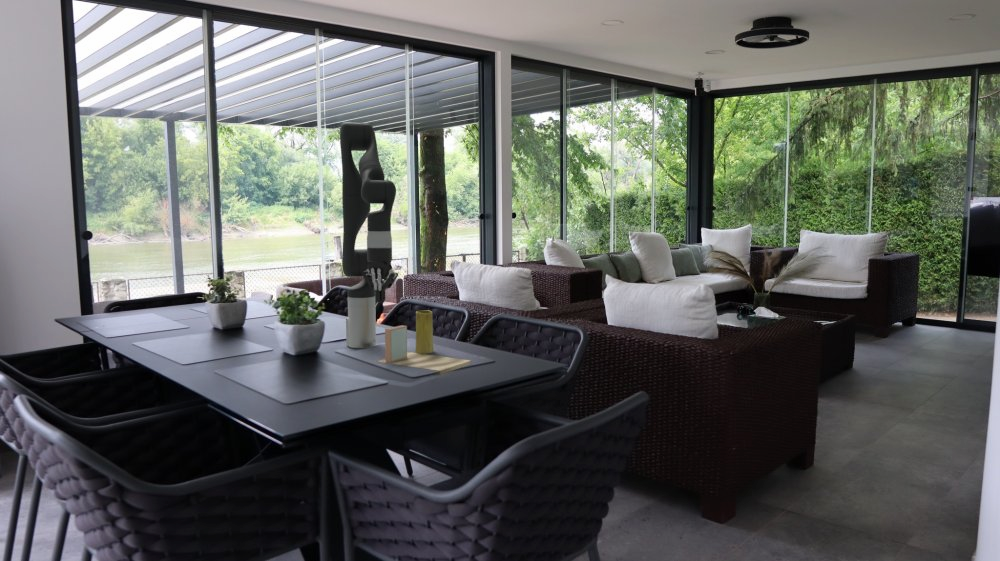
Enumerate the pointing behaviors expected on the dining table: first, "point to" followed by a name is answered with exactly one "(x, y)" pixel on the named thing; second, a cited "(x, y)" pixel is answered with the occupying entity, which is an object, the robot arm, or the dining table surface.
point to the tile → (395, 343)
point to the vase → (424, 332)
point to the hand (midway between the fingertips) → (380, 302)
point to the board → (431, 362)
